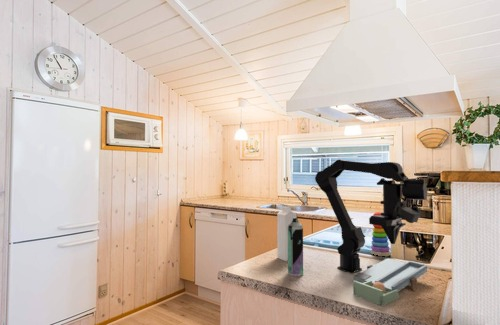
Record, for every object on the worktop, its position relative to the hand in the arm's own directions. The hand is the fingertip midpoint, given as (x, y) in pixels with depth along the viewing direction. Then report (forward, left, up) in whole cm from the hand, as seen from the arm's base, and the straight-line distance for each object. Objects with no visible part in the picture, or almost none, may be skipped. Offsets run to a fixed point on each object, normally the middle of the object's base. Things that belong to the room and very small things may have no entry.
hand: (392, 243), depth 103 cm
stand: (+1, -3, -12) cm, 13 cm away
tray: (+5, -18, -12) cm, 22 cm away
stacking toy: (-20, +24, -12) cm, 34 cm away
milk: (-39, -14, -12) cm, 43 cm away
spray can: (-23, -24, -12) cm, 35 cm away
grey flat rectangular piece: (+1, -3, -9) cm, 10 cm away
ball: (+5, -16, -10) cm, 20 cm away
